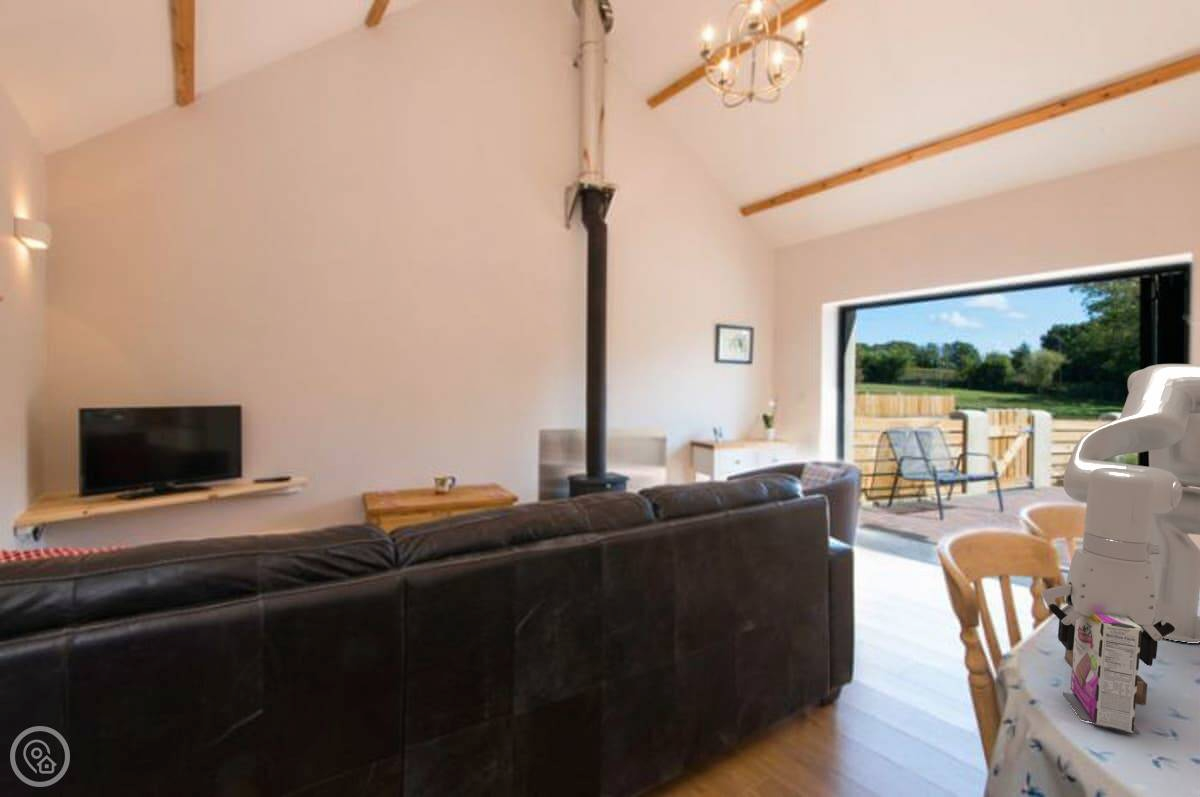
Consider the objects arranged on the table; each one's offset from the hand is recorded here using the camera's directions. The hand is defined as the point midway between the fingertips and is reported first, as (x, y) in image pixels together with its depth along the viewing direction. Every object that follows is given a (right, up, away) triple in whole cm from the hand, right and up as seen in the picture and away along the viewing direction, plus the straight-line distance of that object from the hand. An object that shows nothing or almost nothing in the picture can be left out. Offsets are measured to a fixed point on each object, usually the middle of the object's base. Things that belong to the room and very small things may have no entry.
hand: (1104, 653), depth 89 cm
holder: (+9, -10, +11) cm, 17 cm away
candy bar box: (0, -10, +1) cm, 9 cm away
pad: (0, -10, +1) cm, 10 cm away
